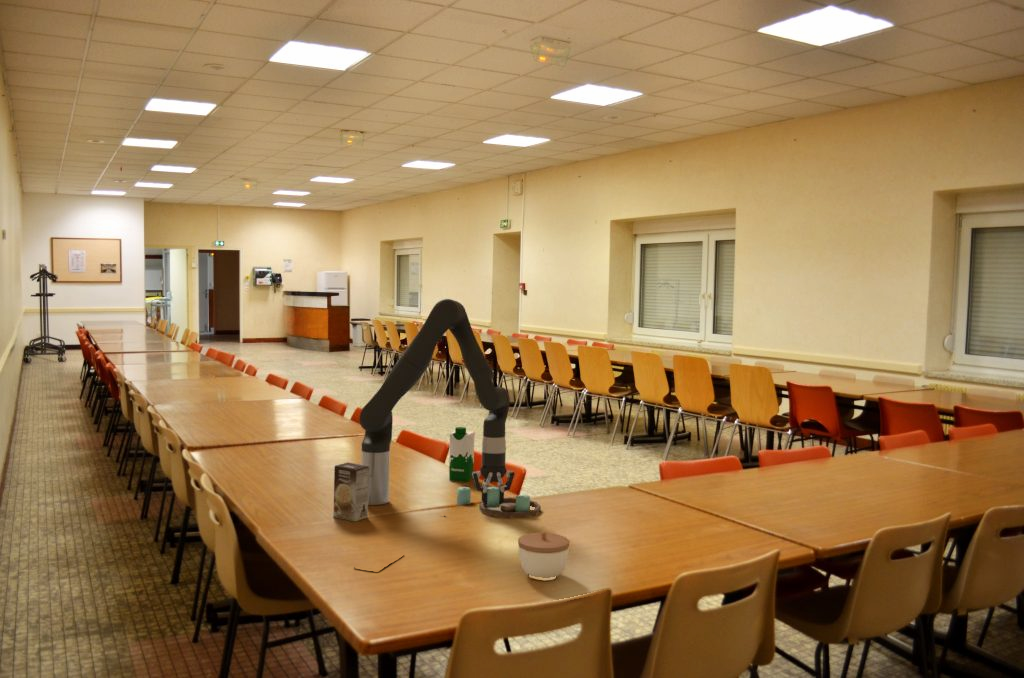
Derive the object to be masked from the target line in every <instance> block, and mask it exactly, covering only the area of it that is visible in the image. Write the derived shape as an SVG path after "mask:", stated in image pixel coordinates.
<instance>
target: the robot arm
mask: <svg viewBox="0 0 1024 678" xmlns="http://www.w3.org/2000/svg"><path fill="white" fill-rule="evenodd" d="M448 330H449V331H450V333H451V335H452V336H453V337H454V339H455V340H456V342H457V345H458V347H459V349H460V354H461V357H462V361H463V363H464V366H465V367H466V370H467V372H468V374H469V375H470V378H471V380H472V381H473V385H474V388H475V392H476V395H477V399H478V401H479V403H480V405H481V406H482V407H483V408H484V409H485V410H487V411H488V415H487V417H486V418H484V421H483V425H482V426H483V430H482V441H481V467H480V469H479V470H477V471H473V472H472V476H473V478H472V479H473V483H474V486H475V489H476V491H477V492H480V493H481V503H482V502H483V503H484V504H487V493H486V491H487V488H489V486H490V484H491V483H497V486H498V487H497V488H500V504H502V502H503V501H504V498H505V492H506V491H510V490H511V486H512V484H513V480H514V477H515V475H516V473H515V472H514V471H513V470H507V468H506V451H507V442H506V421H507V417H508V415H509V414H508V413H509V410H510V401H511V399H510V394H509V392H508V390H507V389H506V388H505V387H503V386H495V385H494V381H493V379H494V377H495V373H494V371H493V369H492V367H491V365H490V363H489V362H488V359H487V357H486V356H485V354H484V352H483V350H482V349H481V346H480V345H479V342H478V340H477V338H476V336H475V333H474V330H473V328H472V326H471V323H470V320H469V316H468V314H467V311H466V308H465V307H464V305H463V304H462V303H461V302H459V301H457V300H453V299H451V298H443V299H441V300H438V301H437V302H436V303H435V304H434V306H433V307H432V308H431V311H430V313H429V314H428V316H427V318H426V319H425V321H424V323H423V325H422V327H421V328H420V330H418V333H417V334H416V335H415V336H414V338H413V339H412V340H411V342H410V343H409V344H408V346H407V347H406V349H405V350H404V352H403V353H402V354H401V355H400V357H399V358H398V360H397V361H396V363H395V364H394V366H393V367H392V369H391V370H390V372H389V373H388V374H387V377H386V378H385V380H384V381H383V383H382V385H381V386H380V388H379V389H378V390H377V391H376V393H375V394H374V395H373V396H372V397H371V398H370V400H369V401H368V402H367V403H366V404H365V405H364V406H363V407H362V409H361V411H360V413H359V415H358V416H359V421H358V422H359V425H360V426H361V428H362V429H363V430H364V431H365V432H364V437H363V440H362V441H361V457H360V458H361V462H360V463H361V464H360V465H364V466H369V481H368V506H379V505H384V504H388V503H389V502H390V500H389V499H390V459H391V458H390V452H391V451H390V450H391V442H392V439H393V438H392V437H393V410H394V408H395V406H396V405H397V404H398V402H399V401H400V400H401V399H402V398H403V397H404V396H405V395H406V394H407V393H408V392H409V391H410V390H411V389H412V388H413V387H414V386H415V385H416V384H417V382H418V381H419V380H420V379H421V378H422V377H423V374H425V372H426V370H427V369H428V368H429V366H430V364H431V362H432V359H433V356H434V352H435V350H436V347H437V345H438V343H439V341H440V340H441V339H442V338H443V336H444V335H445V333H446V332H447V331H448ZM505 475H506V477H507V478H506V481H505V484H504V482H503V478H504V476H505ZM480 476H482V477H483V478H484V479H483V481H482V485H481V484H480V480H479V478H480Z"/></svg>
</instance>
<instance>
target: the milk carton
mask: <svg viewBox="0 0 1024 678" xmlns="http://www.w3.org/2000/svg"><path fill="white" fill-rule="evenodd" d="M475 434H476V431H469V430H467V427H465V426H457V427H455V428H454V431H452V432H450V433H449V454H448V455H449V459H448V462H449V464H448V466H449V467H448V470H449V472H448V474H449V475H448V476H449V477H448V478H449V479H448V480H449V481H450V480H451V482H460V481H463V482H462V483H468V482H470V481H471V480H472V479H473V476H472V472H474V465H475V463H474V462H475ZM470 479H471V480H470ZM467 481H468V482H467Z"/></svg>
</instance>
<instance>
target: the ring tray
mask: <svg viewBox="0 0 1024 678" xmlns="http://www.w3.org/2000/svg"><path fill="white" fill-rule="evenodd" d="M530 506H532V507H535V509H534V510H530V511H526V512H515V511H516V497H504V501H503V502H502V504H500V505H499V507H497V508H489V507H486V504H484V503H483V502H482V501H481V503H479V508H478V509H479V511H480V512H481V514H483V515H486V516H488V517H492V518H499V519H511V518H516V519H526V518H525V517H527V518H530V517H529V516H532V517H534V516H533V515H535V516H537V515H538V514H539V513H540V512H541V511H540V510H541V508H542V507H541V505H540V504H539V503H538V502H537V501H533V500H530ZM539 511H540V512H539ZM538 512H539V513H538ZM537 513H538V514H537ZM536 514H537V515H536Z"/></svg>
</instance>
